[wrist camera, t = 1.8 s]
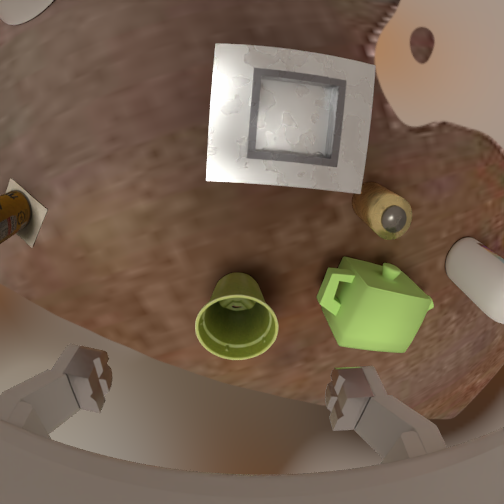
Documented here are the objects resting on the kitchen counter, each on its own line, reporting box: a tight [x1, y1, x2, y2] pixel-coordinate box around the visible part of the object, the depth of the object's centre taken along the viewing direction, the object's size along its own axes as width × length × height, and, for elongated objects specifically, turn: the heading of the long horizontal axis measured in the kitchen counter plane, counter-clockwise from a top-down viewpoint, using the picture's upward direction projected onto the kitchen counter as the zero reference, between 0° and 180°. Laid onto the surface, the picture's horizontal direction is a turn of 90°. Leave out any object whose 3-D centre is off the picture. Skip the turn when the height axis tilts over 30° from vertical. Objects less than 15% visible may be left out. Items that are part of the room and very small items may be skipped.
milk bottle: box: [445, 237, 504, 324], centre depth 33 cm, size 8×8×20 cm
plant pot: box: [195, 273, 278, 360], centre depth 39 cm, size 9×9×9 cm
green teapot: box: [317, 257, 434, 353], centre depth 39 cm, size 18×10×10 cm, turn 75°
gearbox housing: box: [206, 44, 375, 194], centre depth 30 cm, size 14×16×8 cm
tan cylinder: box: [352, 182, 412, 240], centre depth 35 cm, size 5×5×8 cm
